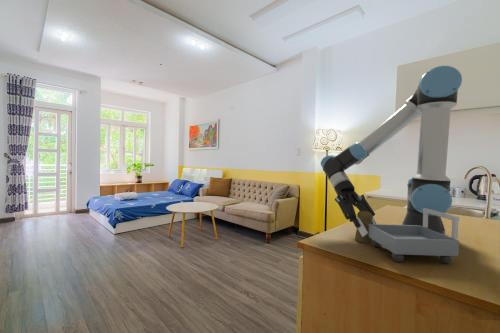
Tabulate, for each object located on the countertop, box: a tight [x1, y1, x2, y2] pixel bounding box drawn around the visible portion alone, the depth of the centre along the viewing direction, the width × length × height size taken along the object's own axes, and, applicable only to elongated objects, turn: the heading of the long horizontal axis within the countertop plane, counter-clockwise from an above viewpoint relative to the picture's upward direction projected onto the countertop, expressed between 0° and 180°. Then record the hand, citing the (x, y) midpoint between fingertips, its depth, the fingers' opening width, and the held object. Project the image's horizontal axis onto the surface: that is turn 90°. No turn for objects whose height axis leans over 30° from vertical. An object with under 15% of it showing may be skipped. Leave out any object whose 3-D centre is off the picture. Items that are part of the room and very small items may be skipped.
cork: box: [354, 210, 374, 244], centre depth 88 cm, size 6×6×11 cm
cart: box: [368, 208, 460, 264], centre depth 75 cm, size 19×16×14 cm
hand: (371, 234), depth 85 cm, fingers closed on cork, 5 cm apart
